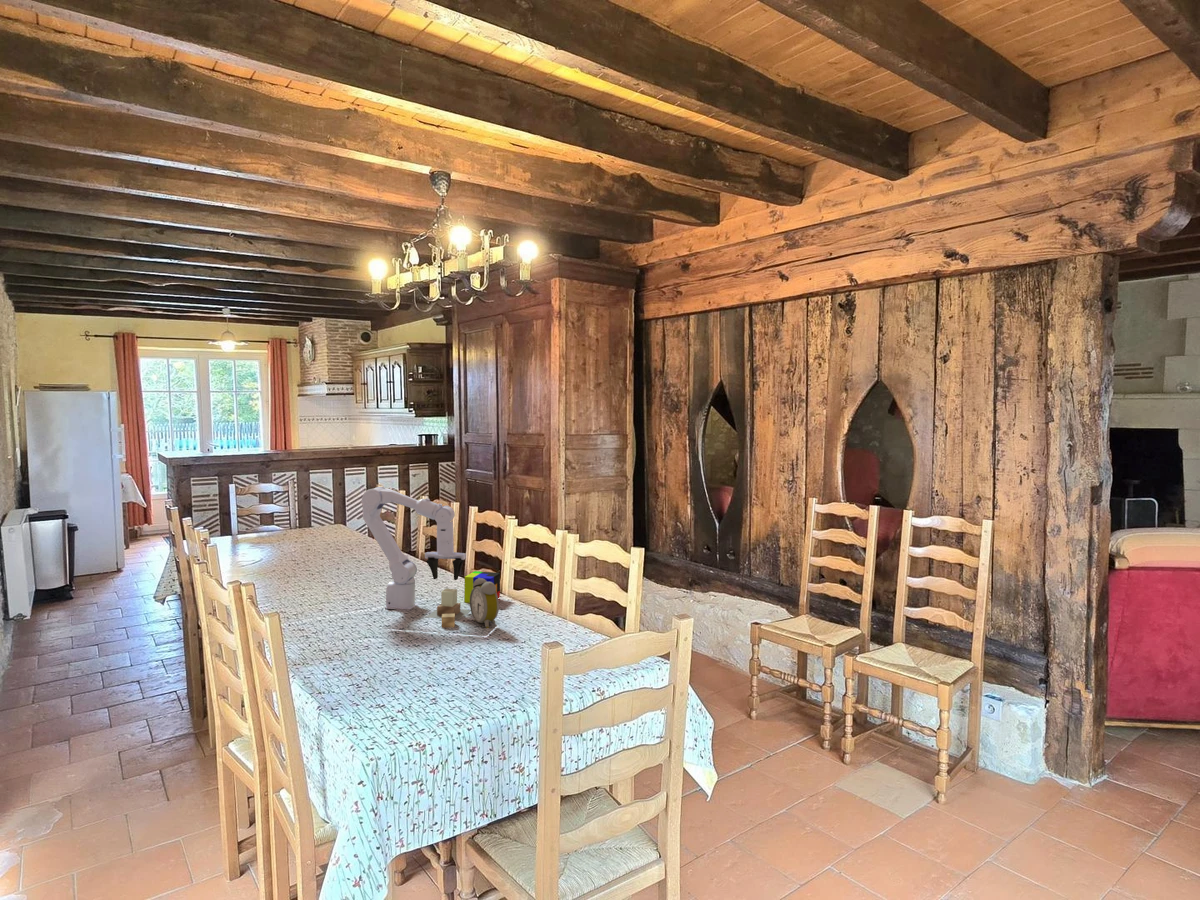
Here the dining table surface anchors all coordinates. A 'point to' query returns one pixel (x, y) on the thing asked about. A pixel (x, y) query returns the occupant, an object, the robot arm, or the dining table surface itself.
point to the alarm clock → (484, 601)
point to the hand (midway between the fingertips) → (445, 579)
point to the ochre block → (448, 620)
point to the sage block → (449, 597)
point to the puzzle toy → (487, 576)
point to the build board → (457, 617)
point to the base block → (448, 609)
